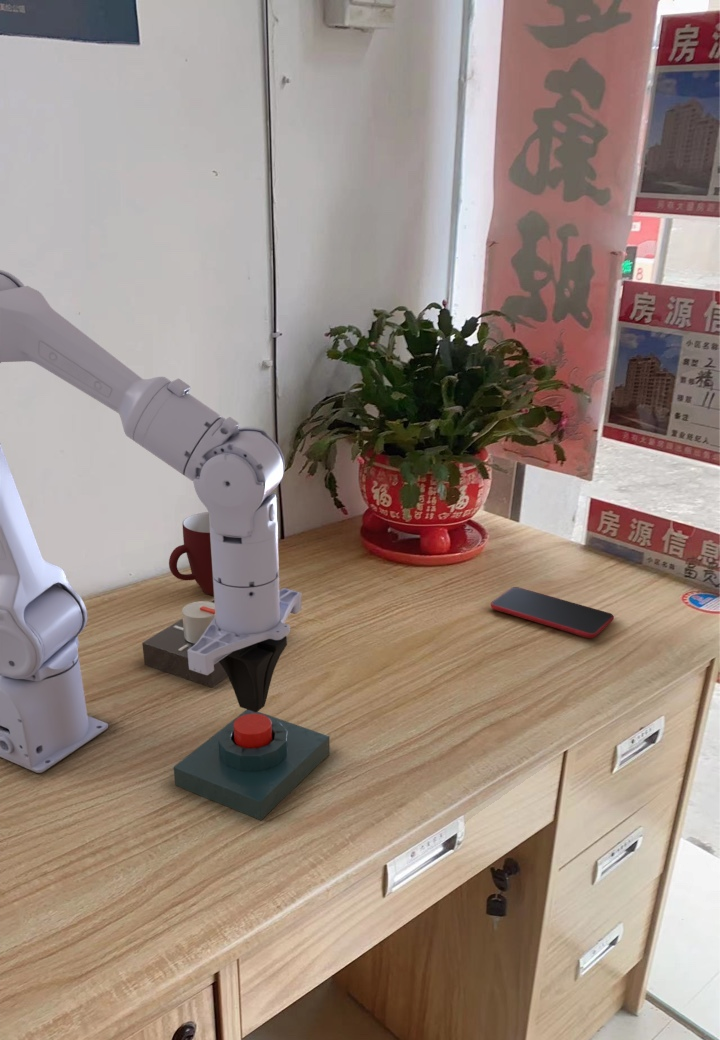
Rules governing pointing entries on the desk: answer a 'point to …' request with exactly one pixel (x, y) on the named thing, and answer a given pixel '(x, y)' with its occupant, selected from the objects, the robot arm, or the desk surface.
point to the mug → (195, 552)
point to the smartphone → (553, 612)
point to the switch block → (252, 767)
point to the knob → (197, 619)
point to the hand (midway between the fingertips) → (251, 706)
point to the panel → (177, 656)
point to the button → (252, 731)
